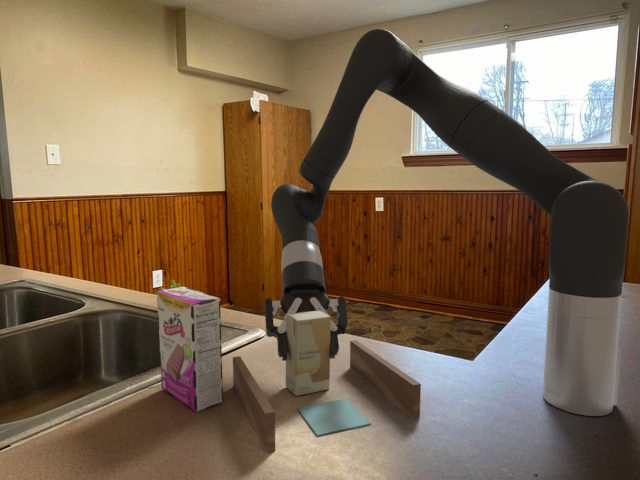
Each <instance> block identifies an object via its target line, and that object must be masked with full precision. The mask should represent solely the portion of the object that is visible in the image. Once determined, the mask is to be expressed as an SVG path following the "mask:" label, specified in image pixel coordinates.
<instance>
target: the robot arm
mask: <svg viewBox="0 0 640 480" xmlns="http://www.w3.org/2000/svg"><path fill="white" fill-rule="evenodd" d="M376 91H379V92H381V93H384V94H386V95H388V96H389V97H391V98H392V99H394V100H396V101H398V102H400V103H401V104H403V105H404V106H406V107H408V108H409V109H411V110H412V111H414V112H415V114H417V115H418V117H420V119H422V121H423V122H424V123H425V124H426V125H427V127H429V128H430V130H431V131H432V132H433V133H434V134H435V135H436V137H438V138H439V139H440V141H442V142H443V143H444V144H445V145H446V146H448V147H449V148H450V149H451V150H453V151H454V152H455V153H456V154H458V155H459V156H461V157H462V158H463V159H465V160H466V161H467V162H468V163H470V164H472V165H473V166H475V167H477V168H478V169H479V170H481V171H483V172H484V173H486V174H488V175H490V176H492V177H493V178H495V179H496V180H499V181H501V182H503V183H505V184H506V185H509V186H510V187H513V188H514V189H516V190H517V191H519V192H520V193H522V194H523V195H525V196H526V197H527V198H529V199H530V200H531V202H534V203H535V204H536V206H538V207H539V208H540V209H541V210H542V211H543V212H545V214H547V215H548V216H549V217H550V224H549V225H550V227H549V229H550V230H549V246H548V247H549V251H548V274H549V275H548V276H549V277H548V278H549V282H548V284H549V285H548V299H547V319H546V322H547V323H546V338H545V355H544V369H543V388H542V396H543V398H544V400H545V402H547V403H549V404H550V405H552V406H554V407H555V408H557V409H560V410H563V411H564V412H568V413H572V414H575V415H581V416H587V417H599V416H600V417H602V416H605V415H606V416H607V415H609V414H611V413H612V412H613V410H614V406H617V402H618V401H617V400H618V389H619V388H618V387H619V379H620V378H619V377H620V363H621V362H620V361H621V352H622V351H621V349H622V345H621V343H620V341H619V333H620V331H619V330H620V320H621V308H622V304H621V303H622V292H623V291H622V290H623V282H624V276H625V265H626V264H625V263H626V254H627V242H628V230H629V229H628V228H629V206H628V202H627V201H626V199H625V197H624V195H623V194H622V193H621V191H619V190H618V189H617V188H615V187H614V186H613V185H610V184H608V183H605V182H603V181H599V180H598V179H596V178H594V177H591V176H590V175H588V174H586V173H585V172H583V171H581V170H579V169H577V168H576V167H574V166H572V165H570V164H568V163H566V162H565V161H563V160H562V159H561V158H559V157H558V156H557V155H555V154H553V152H552V151H550V150H549V149H548V148H546V146H544V144H543V143H541V141H539V139H537V138H536V137H535V136H534V135H533V134H532V133H530V131H528V130H527V129H526V128H525V127H524V126H523V125H522V124H520V123H519V122H518V121H517V120H515V119H514V118H513V117H512V116H511V115H509V114H508V113H506V112H505V111H504V110H502V109H501V108H499V107H498V106H497V105H496V104H495V103H494V104H493V103H492V102H491V101H489V99H487V98H484V97H483V96H482V95H480V94H478V93H477V92H474V91H473V90H471V89H469V88H467V87H465V86H462V85H460V84H458V83H456V82H453V81H451V80H448V79H446V78H444V77H443V76H442V75H440V74H438V73H437V72H436V71H435V70H434V69H432V68H431V67H430V66H429V65H427V64H426V63H425V62H424V60H422V59H421V58H420V57H419V56H418V55H417V54H416V53H414V52H413V50H412V49H411V48H410V47H409V45H407V44H406V43H405V42H404V41H403V40H401V39H400V38H399V37H397V35H395V34H394V33H393V32H391V31H389V30H388V29H385V28H374V29H371V30H369V31H367V32H366V33H364V34H363V35H362V36H361V37H360V38H359V40H358V41H357V43H356V45H355V46H354V48H353V49H352V51H351V54H350V57H349V60H348V62H347V64H346V67H345V70H344V72H343V75H342V78H341V80H340V83H339V85H338V87H337V91H336V93H335V95H334V99H333V100H332V103H331V105H330V108H329V109H328V113H327V115H326V117H325V120H324V121H323V124H322V126H321V127H320V130H319V131H318V134H317V135H316V138H315V139H314V140H313V142H312V144H311V146H310V148H309V150H308V151H307V152H306V155H305V157H304V158H303V160H302V162H301V163H300V166H299V174H300V175H301V177H302V178H303V179H304V180H306V182H308V183H309V184H311V185H312V187H311V189H310V191H309V190H306V189H304V188H302V187H300V186H297V185H295V184H291V183H283V184H280V185H278V187H276V189H275V191H274V192H273V194H272V195H271V202H270V203H271V204H270V205H271V206H270V207H271V213H272V216H273V219H274V222H275V224H276V227H277V230H278V232H279V235H280V237H281V251H282V252H281V253H282V255H281V261H280V262H281V263H280V267H281V269H280V273H281V285H282V286H281V287H282V297H281V298H280V300H272V298H269V297H267V298H266V299H265V300H264V315H265V316H264V317H265V332H266V334H265V335H266V336H267V337H268V338H271V337H274V338H276V341H277V355H278V358H282V359H281V360H282V361H285V362H286V361H287V340H286V315H287V314H293V313H300V312H310V311H321V312H323V313H325V314H327V315H329V316H330V314H329V313H328V312H327V310H328V309H329V307H331V308H332V310H333V312H334V313H336V316H337V324H336V323H335V322H334V321H333V320H332V319H331V331H330V360H331V359H335V357H336V356H338V353H339V350H340V345H339V335H345V334H346V332H347V328H348V325H349V324H348V313H347V304H346V297H344V296H342V295H341V296H339V297H338V298H329V296H328V295H327V292H326V283H325V274H324V265H323V259H322V254H321V251H320V241H319V235H318V230H317V228H316V226H315V224H316V223H317V222H318V221H319V220H320V219H321V217H322V215H323V212H324V208H325V205H326V201H327V198H328V194H329V191H330V189H331V185H332V183H333V181H334V179H335V177H336V176H337V174H338V173H339V171H340V169H341V167H343V165H344V163H345V161H346V159H347V158H348V155H349V153H350V151H351V149H352V146H353V142H354V139H355V133H356V129H357V126H358V123H359V120H360V117H361V115H362V113H363V111H364V108H365V106H366V104H367V103H368V101H370V99H371V97H372V96H373V95H374V94H375V92H376ZM279 309H281V311H282V312H283V313H284V317H283V319H282V321H281V323H279V326H276V325H274V315H275V314H277V313H278V310H279Z"/></svg>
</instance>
